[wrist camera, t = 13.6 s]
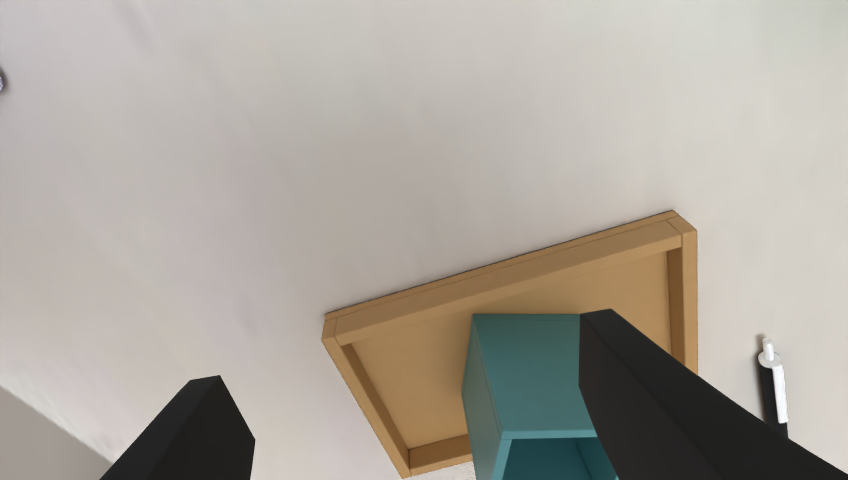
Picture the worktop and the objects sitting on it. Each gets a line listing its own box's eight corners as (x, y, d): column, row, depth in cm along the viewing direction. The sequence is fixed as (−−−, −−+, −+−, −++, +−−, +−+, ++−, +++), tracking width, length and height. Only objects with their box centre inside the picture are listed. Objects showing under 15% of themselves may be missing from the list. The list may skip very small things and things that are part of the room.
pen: (770, 331, 23) (787, 347, 22) (790, 515, 32) (802, 532, 31) (751, 338, 23) (767, 354, 22) (776, 519, 32) (789, 537, 31)
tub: (460, 393, 23) (483, 518, 17) (472, 313, 20) (502, 432, 15) (559, 391, 23) (610, 513, 18) (583, 313, 21) (649, 428, 15)
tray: (400, 449, 25) (401, 479, 24) (325, 313, 20) (320, 340, 19) (679, 376, 24) (698, 402, 22) (673, 209, 19) (698, 229, 17)
